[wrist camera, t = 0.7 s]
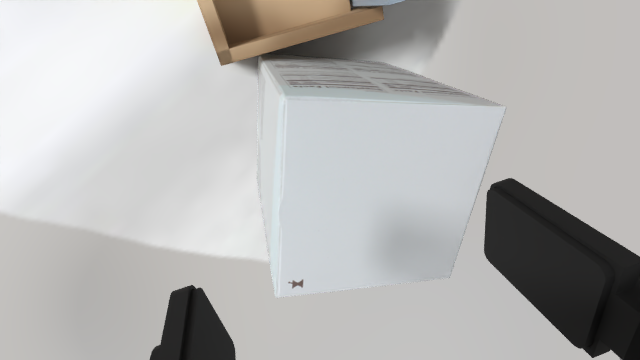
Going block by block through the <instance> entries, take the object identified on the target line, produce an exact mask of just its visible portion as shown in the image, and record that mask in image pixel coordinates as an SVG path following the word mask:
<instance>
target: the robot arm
mask: <svg viewBox="0 0 640 360" xmlns="http://www.w3.org/2000/svg"><path fill="white" fill-rule="evenodd" d="M484 253H485V255H486V258H487V259H488V261H489V262H490V263H491V264H492V265H493V266H494V267H495V268H496V269H497V270H499V272H500V273H501V274H502V275H504V276H505V278H506V279H507V280H508V281H509V282H510V283H511V284H513V286H515V288H516V289H518V291H520V292H521V294H523V295H524V296H525V297H526V298H527V299H528V300H529V301H530V302H531V303H532V304H533V305H534V306H535V307H536V308H537V309H538V310H539V311H540V312H541V313H542V314H543V315H544V316H545V317H546V318H547V319H548V320H549V321H550V322H551V323H552V324H553V325H554V326H555V327H556V328H557V329H558V330H559V331H560V332H561V333H562V334H563V335H564V336H565V337H566V338H567V339H568V340H569V341H570V342H571V343H572V344H573V345H574V346H576V347H578V348H583V349H584V350H585V351H586V352H587V353H588V354H589V355H590V356H591V357H592V358H594V357H596V356H599V355H601V354H604V353H606V352H609V351H610V349H611V350H612V351H613V352H614V353H615V354H616V355H618V356H619V357H620V360H640V257H639V256H638V255H636V254H634V253H633V252H631V251H630V250H628V249H626V248H625V247H623V246H622V245H620V244H618V243H617V242H615V241H613V240H611V239H610V238H609V237H607V236H605V235H604V234H602V233H600V232H599V231H597V230H596V229H594V228H592V227H591V226H589V225H588V224H586V223H584V222H583V221H581V220H579V219H578V218H576V217H574V216H573V215H571V214H570V213H568V212H566V211H565V210H563V209H562V208H560V207H558V206H557V205H555V204H553V203H552V202H550V201H549V200H547V199H545V198H544V197H542V196H540V195H539V194H537V193H535V192H534V191H532V190H531V189H529V188H527V187H525V186H524V185H523V184H521V183H519V182H518V181H516V180H514V179H512V178H508V179H505V180H502V181H499V182H496V183H494V184H492V185H491V188H490V190H488V192H487V202H486V223H485V244H484ZM150 360H235V348H234V344H233V341H232V339H231V338H230V336H229V334H228V332H227V331H226V329H225V327H224V326H223V324H222V322H221V320H220V319H219V317H218V315H217V314H216V312H215V310H214V308H213V307H212V305H211V303H210V301H209V300H208V298H207V296H206V295H205V293H204V291H203V290H202V288H197V289H196V288H195V287H194V286H193V285H191V286H187V287H185V288H182V289H179V290H175V291H173V292H172V293H171V295H170V300H169V305H168V310H167V315H166V320H165V325H164V330H163V335H162V340H161V345H159V346H156V347H155V348H154V349H153V351H152V354H151V357H150Z"/></svg>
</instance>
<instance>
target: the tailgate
mask: <svg viewBox="0 0 640 360" xmlns="http://www.w3.org/2000/svg"><path fill="white" fill-rule="evenodd" d="M402 1H406V0H352V6H374V5H391V4H395V3H398V2H402Z"/></svg>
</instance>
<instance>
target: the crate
mask: <svg viewBox="0 0 640 360" xmlns="http://www.w3.org/2000/svg"><path fill="white" fill-rule="evenodd" d="M197 2H198V4H199V7H200V10H201V12H202V15H203V18H204V21H205V23H206V26H207V29H208V31H209V34H210V37H211V39H212V42H213V45H214V48H215V50H216V53H217V56H218V58H219V61H220V64H221V66H222V65H226V64H229V63H233V62H236V61H240V60H243V59H247V58H250V57H254V56H257V55H261V54H264V53H268V52H271V51H275V50H278V49H282V48H285V47H289V46H292V45H296V44H299V43H303V42H307V41H310V40H314V39H317V38H321V37H324V36H328V35H331V34H335V33H338V32H342V31H345V30H349V29H352V28H356V27H359V26H363V25H366V24H370V23H373V22H377V21H380V20H384V16H383V8H382V6H361V7H358V8H354V9H351V8H350V2H349V0H197Z"/></svg>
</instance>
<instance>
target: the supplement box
mask: <svg viewBox="0 0 640 360" xmlns="http://www.w3.org/2000/svg"><path fill="white" fill-rule="evenodd" d="M505 110H506V106H503V105H500V104H497V103H495V102H492V101H489V100H487V99H484V98H481V97H478V96H475V95H473V94H470V93H467V92H464V91H462V90H459V89H456V88H453V87H450V86H448V85H444V84H442V83H439V82H437V81H434V80H431V79H429V78H426V77H423V76H421V75H418V74H415V73H412V72H409V71H407V70H404V69H401V68H398V67H395V66H392V65H389V64H386V63H382V62H370V61H357V60H345V59H331V58H317V57H303V56H288V55H273V54H261V55H259V57H258V110H257V183H258V190H259V196H260V203H261V209H262V216H263V222H264V229H265V235H266V242H267V249H268V256H269V262H270V268H271V274H272V280H273V286H274V292H275V297H288V296H296V295H306V294H316V293H325V292H334V291H343V290H351V289H359V288H368V287H376V286H385V285H393V284H401V283H410V282H419V281H428V280H435V279H443V278H450V276H451V272H452V269H453V267H454V263H455V260H456V257H457V254H458V251H459V248H460V245H461V242H462V239H463V236H464V233H465V230H466V227H467V224H468V221H469V218H470V215H471V212H472V209H473V206H474V203H475V200H476V197H477V194H478V191H479V188H480V185H481V182H482V179H483V176H484V173H485V170H486V167H487V164H488V161H489V158H490V155H491V152H492V149H493V146H494V143H495V140H496V137H497V134H498V131H499V128H500V125H501V122H502V119H503V117H504V114H505Z"/></svg>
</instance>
